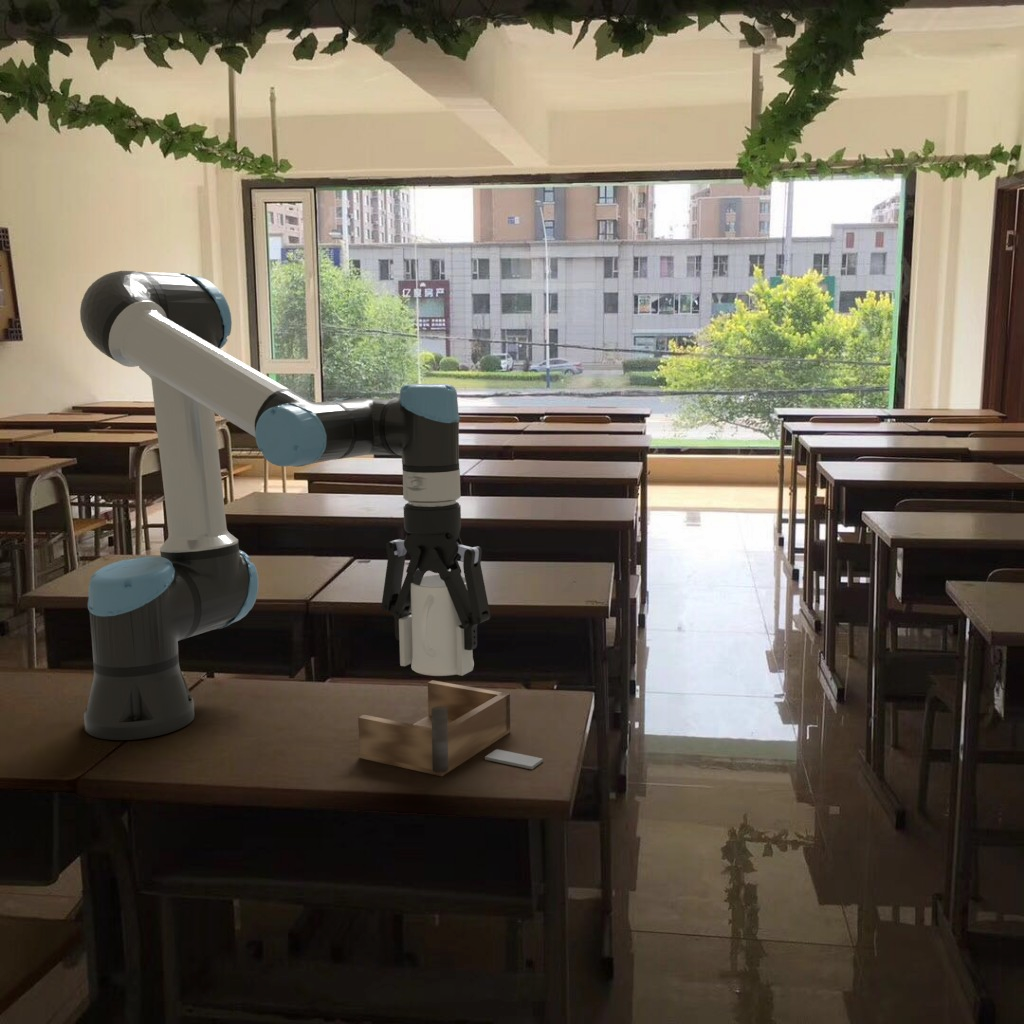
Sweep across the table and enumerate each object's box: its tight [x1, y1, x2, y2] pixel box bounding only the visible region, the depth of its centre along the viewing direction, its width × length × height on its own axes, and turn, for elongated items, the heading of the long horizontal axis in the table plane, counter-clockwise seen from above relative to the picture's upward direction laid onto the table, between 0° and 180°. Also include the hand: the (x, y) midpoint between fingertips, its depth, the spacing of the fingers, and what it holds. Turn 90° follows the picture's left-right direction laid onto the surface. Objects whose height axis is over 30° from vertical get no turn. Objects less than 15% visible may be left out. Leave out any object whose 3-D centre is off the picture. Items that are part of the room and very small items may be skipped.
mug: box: [410, 574, 475, 677], centre depth 144 cm, size 12×8×12 cm
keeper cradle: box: [357, 679, 511, 777], centre depth 146 cm, size 13×18×9 cm
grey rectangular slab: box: [484, 748, 544, 770], centre depth 141 cm, size 7×3×1 cm, turn 61°
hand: (436, 667), depth 145 cm, fingers closed on mug, 8 cm apart
